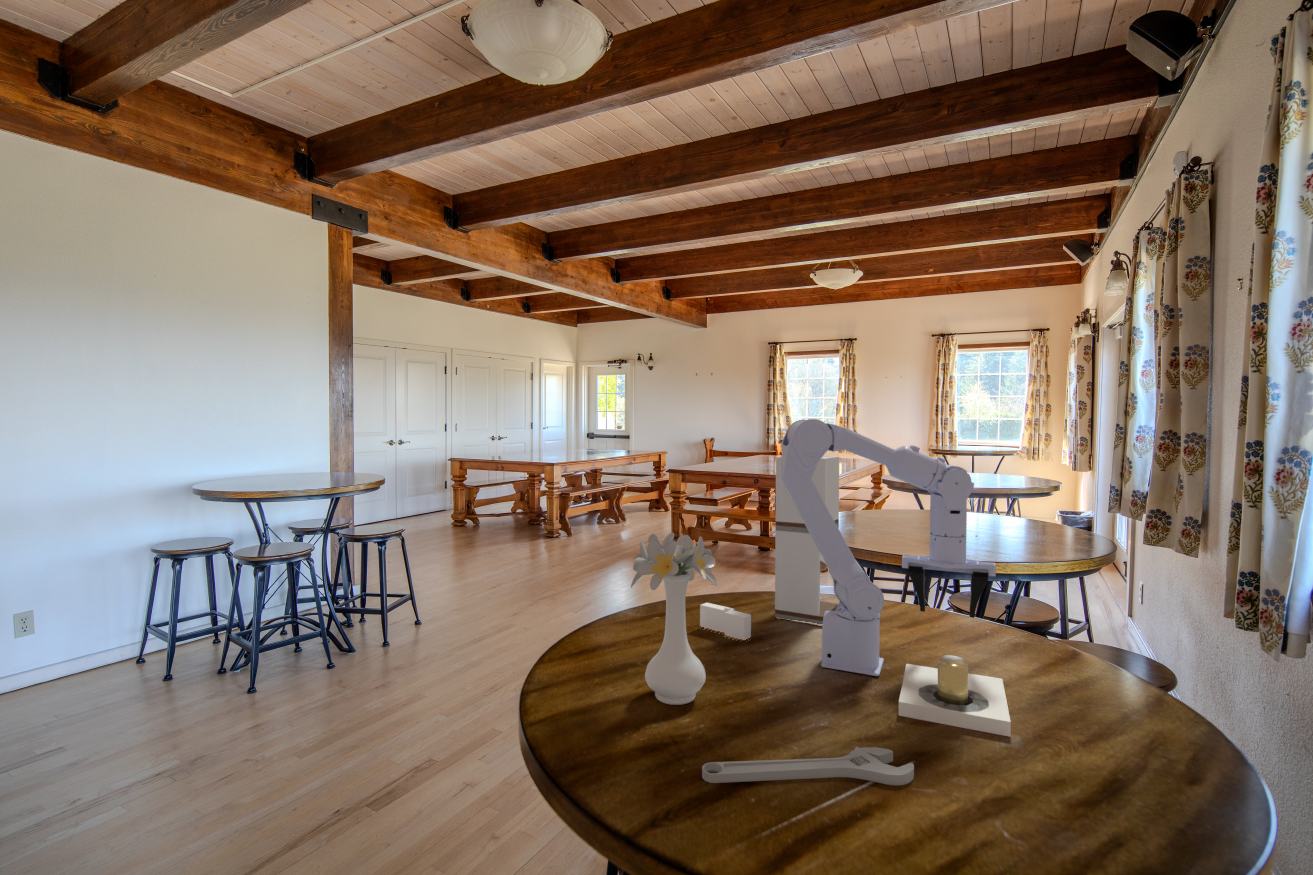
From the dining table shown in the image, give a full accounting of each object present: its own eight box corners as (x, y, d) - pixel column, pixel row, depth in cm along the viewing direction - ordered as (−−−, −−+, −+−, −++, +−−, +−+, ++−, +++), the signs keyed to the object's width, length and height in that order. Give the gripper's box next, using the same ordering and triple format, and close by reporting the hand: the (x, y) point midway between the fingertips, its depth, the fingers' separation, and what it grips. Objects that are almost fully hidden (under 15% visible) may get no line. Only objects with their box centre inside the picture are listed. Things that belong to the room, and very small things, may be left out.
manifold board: (898, 715, 89) (898, 680, 89) (906, 675, 103) (906, 645, 103) (1010, 736, 83) (1011, 699, 83) (1002, 691, 97) (1002, 659, 97)
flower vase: (706, 670, 105) (707, 523, 105) (723, 722, 87) (724, 544, 86) (629, 671, 104) (630, 524, 104) (630, 724, 86) (631, 544, 86)
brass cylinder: (936, 714, 89) (937, 666, 89) (937, 703, 93) (938, 657, 93) (967, 720, 88) (968, 671, 87) (967, 708, 91) (968, 661, 91)
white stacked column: (823, 626, 129) (825, 458, 128) (774, 618, 134) (775, 457, 134) (838, 612, 138) (839, 456, 138) (791, 605, 144) (792, 455, 143)
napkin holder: (688, 626, 130) (688, 599, 130) (739, 623, 132) (739, 597, 132) (707, 652, 115) (707, 621, 115) (765, 648, 117) (765, 618, 117)
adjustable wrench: (702, 788, 72) (702, 773, 72) (699, 758, 78) (699, 744, 78) (919, 788, 72) (919, 773, 72) (898, 758, 78) (898, 744, 78)
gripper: (900, 534, 106) (900, 613, 106) (997, 541, 100) (996, 625, 100) (903, 528, 113) (903, 603, 113) (994, 534, 106) (993, 613, 106)
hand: (947, 612), depth 107 cm, fingers open, 7 cm apart
